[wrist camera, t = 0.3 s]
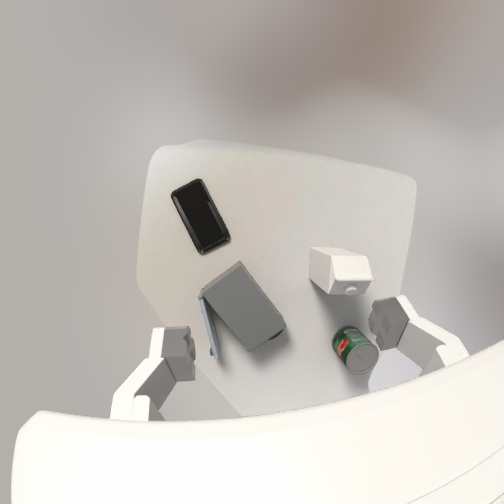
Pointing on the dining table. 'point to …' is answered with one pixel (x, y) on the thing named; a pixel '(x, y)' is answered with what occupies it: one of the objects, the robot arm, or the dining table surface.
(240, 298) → the box
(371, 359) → the canned tomato
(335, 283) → the milk carton
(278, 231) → the dining table surface
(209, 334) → the side door
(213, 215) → the phone
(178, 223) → the dining table surface
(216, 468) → the robot arm
